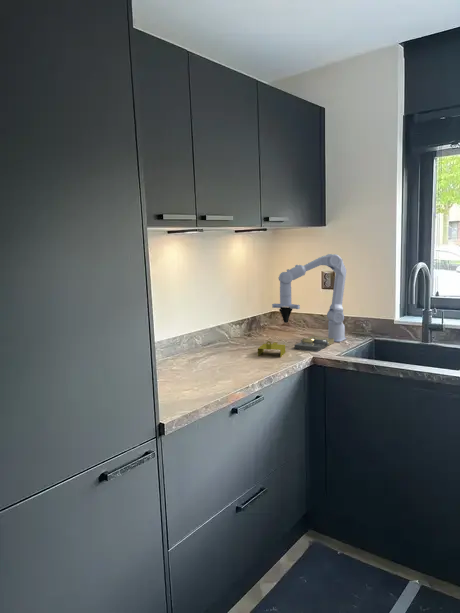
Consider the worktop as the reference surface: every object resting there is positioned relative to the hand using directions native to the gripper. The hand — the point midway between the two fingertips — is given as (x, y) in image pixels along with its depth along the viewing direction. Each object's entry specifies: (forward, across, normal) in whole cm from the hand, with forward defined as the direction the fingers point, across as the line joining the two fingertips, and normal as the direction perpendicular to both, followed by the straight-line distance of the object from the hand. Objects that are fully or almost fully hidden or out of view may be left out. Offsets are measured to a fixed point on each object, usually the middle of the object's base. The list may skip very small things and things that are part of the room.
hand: (286, 322), depth 232 cm
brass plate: (+10, +15, +3) cm, 19 cm away
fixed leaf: (+10, +17, -5) cm, 20 cm away
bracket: (+11, +5, -24) cm, 27 cm away
